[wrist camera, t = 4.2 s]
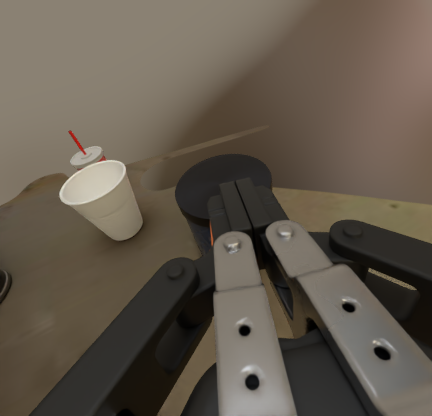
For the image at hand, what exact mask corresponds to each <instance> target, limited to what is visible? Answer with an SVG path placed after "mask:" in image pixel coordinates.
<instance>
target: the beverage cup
mask: <svg viewBox="0 0 432 416" xmlns="http://www.w3.org/2000/svg"><path fill="white" fill-rule="evenodd" d="M69 134H70V135H71V136H72V138H73V139H74V141H75V142H76V144H77V145H78V147H79V148H80V149H81V151H80V152H78V153H77V154H75V155H74V156H73V157H72V159H71V160H70V163H71V165H73V167H74V168H77V170H78V171H80V170H81V169H83V168H85V167H87V166H89V165H91V164H94V163H97V162H101V161H106V158H105V157H104V153H103V151H102V148H100V147H99V146H93V147H89V148H86V149H83V148H82V146H81V145H80V143H79V142H78V141H77V139H76V137H75V136H74V134H73V133H72V131H69Z"/></svg>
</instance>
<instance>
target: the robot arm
mask: <svg viewBox="0 0 432 416" xmlns="http://www.w3.org/2000/svg"><path fill="white" fill-rule="evenodd" d="M219 189H220V194H221V195H217V196H212V197H210V199H209V201H208V203H207V207H208V213H209V219H210V225H211V230H212V236H213V245H212V247H211V249H210V250H209V252H208V253H207V254H205V255H204V256H203V257H201V258H199V259H197V260H195V261H192V260H190V259H188V258H175V259H172V260H170V261H168V262H166V263H165V264H164V265H163V266H162V267H161V268H160V269H159V270H158V271H157V272H156V273H155V274H154V275H153V277H152V278H151V279H150V280H149V281H148V282H147V283H146V284H145V286H144V287H143V288H142V289H141V290H140V291H139V292H138V293H137V295H136V296H135V297H134V298H133V299H132V300H131V301H130V302H129V303H128V305H127V306H126V307H125V308H124V309H123V310H122V311H121V312H120V314H119V315H118V316H117V317H116V318H115V319H114V320H113V321H112V323H111V324H110V325H109V326H108V327H107V328H106V329H105V330H104V332H103V333H102V334H101V335H100V336H99V337H98V338H97V339H96V341H95V342H94V343H93V344H92V345H91V346H90V347H89V348H88V350H87V351H86V352H85V353H84V354H83V355H82V356H81V357H80V359H79V360H78V361H77V362H76V363H75V364H74V365H73V366H72V368H71V369H70V370H69V371H68V372H67V373H66V374H65V375H64V376H63V378H62V379H61V380H60V381H59V382H58V383H57V384H56V385H55V387H54V388H53V389H52V390H51V391H50V392H49V393H48V394H47V396H46V397H45V398H44V399H43V400H42V401H41V402H40V403H39V405H38V406H37V407H36V408H35V409H34V410H33V411H32V412H31V414H30V415H29V416H156V415H157V414H158V412H159V410H160V409H161V407H162V405H163V404H164V402H165V400H166V399H167V397H168V395H169V393H170V392H171V390H172V388H173V387H174V385H175V383H176V382H177V380H178V378H179V377H180V375H181V373H182V371H183V370H184V368H185V366H186V365H187V363H188V361H189V360H190V358H191V356H192V355H193V353H194V351H195V349H196V348H197V346H198V344H199V343H200V341H201V339H202V338H203V336H204V334H205V333H206V331H207V329H208V327H209V326H210V324H211V321H212V317H213V316H214V321H215V342H216V363H214V364H213V365H212V366H211V367H210V368H209V369H208V370H207V371H206V372H205V373H204V375H203V376H202V377H201V378H200V380H199V381H198V383H197V384H196V386H195V388H194V390H193V391H192V393H191V395H190V397H189V399H188V401H187V403H186V405H185V407H184V409H183V411H182V413H181V415H180V416H432V244H431V243H427V242H424V241H421V240H418V239H415V238H411V237H408V236H405V235H402V234H399V233H396V232H392V231H389V230H386V229H383V228H380V227H376V226H373V225H370V224H367V223H364V222H360V221H356V220H341V221H338V222H336V223H334V224H333V225H332V226H331V228H330V232H307V231H306V230H305V229H304V227H303V226H302V225H300V224H299V223H297V222H294V221H290V220H289V218H288V217H287V215H286V214H285V212H284V210H283V209H282V207H281V205H280V204H279V203H278V201H277V199H276V197H275V196H274V194H273V192H272V191H271V190H270V189H269V188H267V187H265V186H264V185H261V186H257V187H255V186H254V184H253V182H252V180H251V179H250V178H245V179H241V180H236V181H235V183H234V181H232V182H227V183H223V184H219ZM258 268H259V269H258ZM369 268H371V269H374V270H376V271H378V272H381V273H383V274H386V275H388V276H390V277H393V278H395V279H398V280H400V281H402V282H405V283H407V284H409V285H411V286H413V287H414V288H416V289H417V290H411V289H408V288H405V287H403V286H400V285H398V284H396V283H393V282H391V281H389V280H386V279H384V278H382V277H379V276H377V275H375V274H372V273H370V272H368V269H369ZM261 269H266V272H267V274H268V277H269V279H270V284H271V287H272V289H273V291H274V293H275V295H276V297H277V299H278V301H279V303H280V306H281V308H282V310H283V312H284V314H285V316H286V318H287V320H288V322H289V324H290V327H291V330H292V333H293V337H294V339H288V338H277V334H276V330H275V326H274V322H273V318H272V314H271V310H270V306H269V302H268V298H267V294H266V290H265V287H264V284H262V281H261V277H260V273H259V270H261ZM10 284H11V277H10V275H9V274H8V273H7V272H6V271H4V270H2V269H0V302H1V301H2V299H3V298H4V297H5V295H6V293H7V291H8V289H9V287H10Z"/></svg>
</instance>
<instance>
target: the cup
mask: <svg viewBox="0 0 432 416" xmlns="http://www.w3.org/2000/svg"><path fill="white" fill-rule="evenodd" d="M60 199H61V201H62V202H63V203H64V204H67V205H70V206H71V207H72V208H73V209H75V210H76V211H77V212H79V213H80V214H81V215H82V216H84V217H85V218H86V219H88V220H89V221H90V222H91V223H93V224H94V225H95V226H96V227H98V228H99V229H100V230H102V231H103V232H104V233H105V234H107V235H108V236H109V237H110V238H112V239H113V240H117V241H121V240H126V239H129V238H131V237H132V236H134V235H135V234H136V233H137V232H138V231H139V230H140V228H141V226H142V224H143V219H142V216H141V213H140V210H139V208H138V205H137V202H136V199H135V197H134V194H133V191H132V188H131V185H130V182H129V180H128V177H127V174H126V167H125V165H124V164H123V163H122V162H119V161H116V160H106V161H101V162H97V163H94V164H91V165H89V166H87V167H85V168H83V169H81V170H80V171H78V172H77V173H75V174H74V175H73V176H71V177H70V178H69V179H68V180H67V181H66V182H65V184H64V185H63V186H62V188H61V190H60Z"/></svg>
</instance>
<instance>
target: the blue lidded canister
mask: <svg viewBox="0 0 432 416" xmlns="http://www.w3.org/2000/svg"><path fill="white" fill-rule="evenodd" d="M245 178H250V179H251V180H252V182H253V184H254V186H255V187H257V186H261V185H264V186H265V187H267V188H269V189H270V190H271V191H272V178H271V173H270V171H269V169H268V167H267V166H266V165H265V164H264V163H263V162H261V161H260V160H258V159H256V158H254V157H251V156H248V155H242V154H225V155H219V156H215V157H211V158H209V159H206V160H204V161H201V162H199V163H198V164H196V165H194V166H193V167H191V168H190V169H189V170H188V171H187V172H185V173H184V175H183V176H182V177H181V179H180V180H179V182H178V184H177V186H176V190H175V197H176V201H177V203H178V206H179V208H180V210H181V212H182V214H183V215H184V217H186V219H187V222H188V224H189V226H190V228H191V231H192V233H193V235H194V238H195V240H196V242H197V244H198V247H199V249H200V251H201V254H202V256H204V255H205V254H207V253H208V252H209V250H210V249H211V247H212V244H211V231H210V219H209V213H208V207H207V203H208V201H209V199H210V197H212V196H217V195H221V194H220V189H219V184H223V183H227V182H232V181H234V183H235V181H236V180H241V179H245ZM258 269H259V268H258Z"/></svg>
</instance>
